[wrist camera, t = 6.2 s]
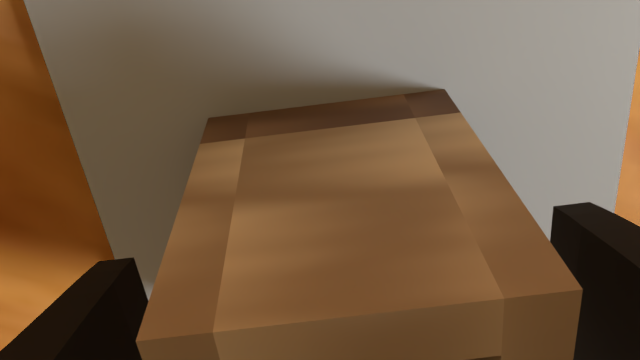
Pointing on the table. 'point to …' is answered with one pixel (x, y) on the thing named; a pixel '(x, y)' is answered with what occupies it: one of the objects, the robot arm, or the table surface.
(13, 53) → the table surface
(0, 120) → the table surface
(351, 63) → the board
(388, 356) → the sleeve
